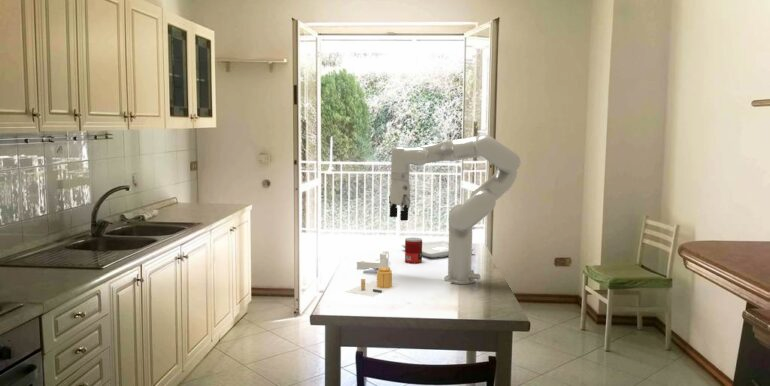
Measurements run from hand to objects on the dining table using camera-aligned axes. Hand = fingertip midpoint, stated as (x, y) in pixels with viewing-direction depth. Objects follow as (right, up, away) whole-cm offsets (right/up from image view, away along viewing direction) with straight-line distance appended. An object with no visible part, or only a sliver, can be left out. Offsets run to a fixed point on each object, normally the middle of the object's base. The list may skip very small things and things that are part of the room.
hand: (398, 218), depth 253 cm
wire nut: (-6, -26, -14) cm, 30 cm away
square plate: (+21, -20, +59) cm, 66 cm away
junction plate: (-10, -27, -17) cm, 34 cm away
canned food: (+8, -22, +37) cm, 44 cm away
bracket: (-11, -24, +24) cm, 35 cm away
